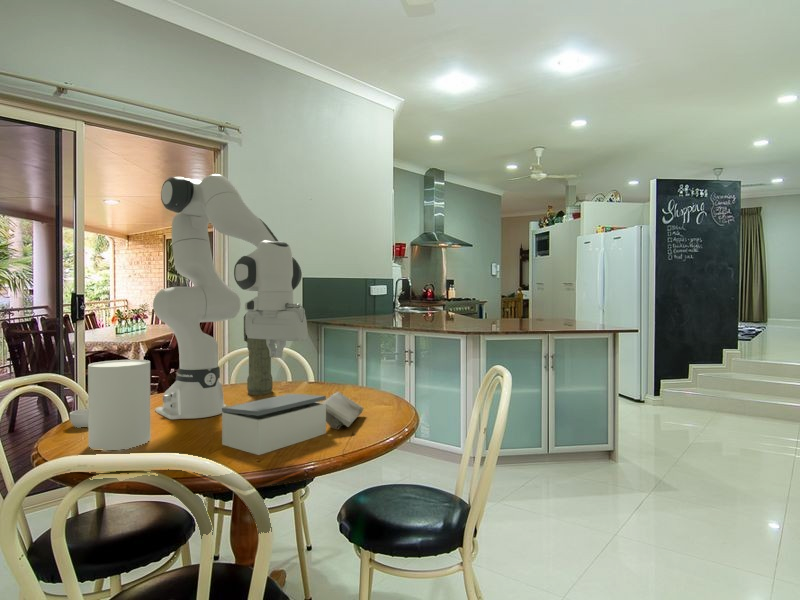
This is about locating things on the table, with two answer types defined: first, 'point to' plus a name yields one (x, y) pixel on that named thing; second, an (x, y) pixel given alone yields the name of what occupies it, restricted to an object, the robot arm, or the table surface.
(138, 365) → the canister
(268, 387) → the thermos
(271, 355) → the robot arm
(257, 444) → the storage box
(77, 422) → the teacup
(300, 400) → the lid
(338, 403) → the packaged product
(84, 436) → the table surface
